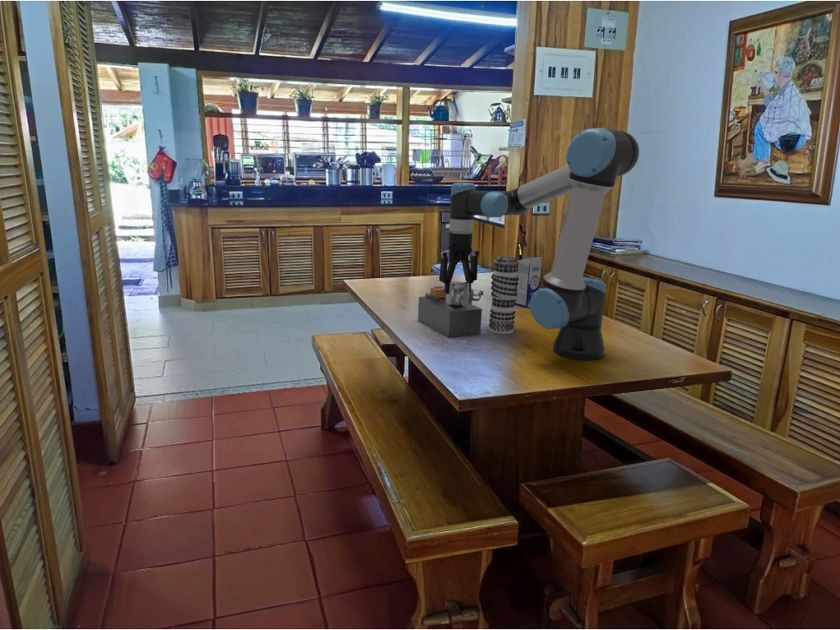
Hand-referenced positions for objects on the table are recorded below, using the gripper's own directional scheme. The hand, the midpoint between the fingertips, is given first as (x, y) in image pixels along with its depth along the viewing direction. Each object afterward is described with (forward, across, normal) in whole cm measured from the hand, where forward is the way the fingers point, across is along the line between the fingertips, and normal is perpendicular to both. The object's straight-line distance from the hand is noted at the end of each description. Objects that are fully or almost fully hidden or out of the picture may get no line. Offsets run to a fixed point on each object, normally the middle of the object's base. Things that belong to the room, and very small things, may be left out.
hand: (457, 302), depth 193 cm
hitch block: (+10, 0, -5) cm, 11 cm away
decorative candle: (+10, -15, +5) cm, 19 cm away
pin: (+4, 0, 0) cm, 4 cm away
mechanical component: (+10, -14, -15) cm, 23 cm away
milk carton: (+10, -45, -21) cm, 51 cm away
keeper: (+1, 0, -13) cm, 13 cm away
